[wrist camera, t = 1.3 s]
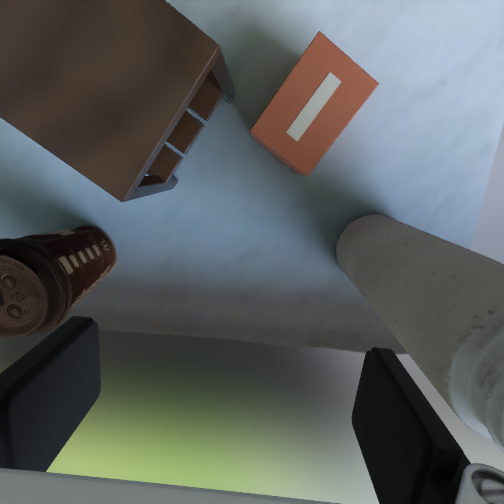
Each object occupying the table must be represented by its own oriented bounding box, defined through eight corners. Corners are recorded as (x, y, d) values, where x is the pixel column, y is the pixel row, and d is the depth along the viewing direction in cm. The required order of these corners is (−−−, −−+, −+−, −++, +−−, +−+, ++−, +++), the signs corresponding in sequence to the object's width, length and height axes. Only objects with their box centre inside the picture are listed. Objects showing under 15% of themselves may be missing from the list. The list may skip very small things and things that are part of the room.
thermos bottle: (420, 235, 35) (963, 472, 8) (379, 292, 37) (702, 637, 10) (361, 201, 34) (743, 335, 7) (322, 261, 36) (506, 546, 9)
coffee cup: (40, 254, 37) (-73, 300, 24) (75, 200, 35) (-28, 219, 22) (102, 298, 38) (25, 363, 26) (139, 247, 36) (76, 291, 24)
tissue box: (252, 138, 33) (249, 130, 26) (306, 60, 31) (319, 30, 24) (298, 174, 33) (307, 176, 27) (353, 100, 31) (379, 83, 25)
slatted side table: (25, 82, 32) (-127, 28, 19) (80, -33, 29) (-57, -183, 16) (172, 189, 34) (122, 202, 22) (235, 92, 31) (219, 45, 19)
